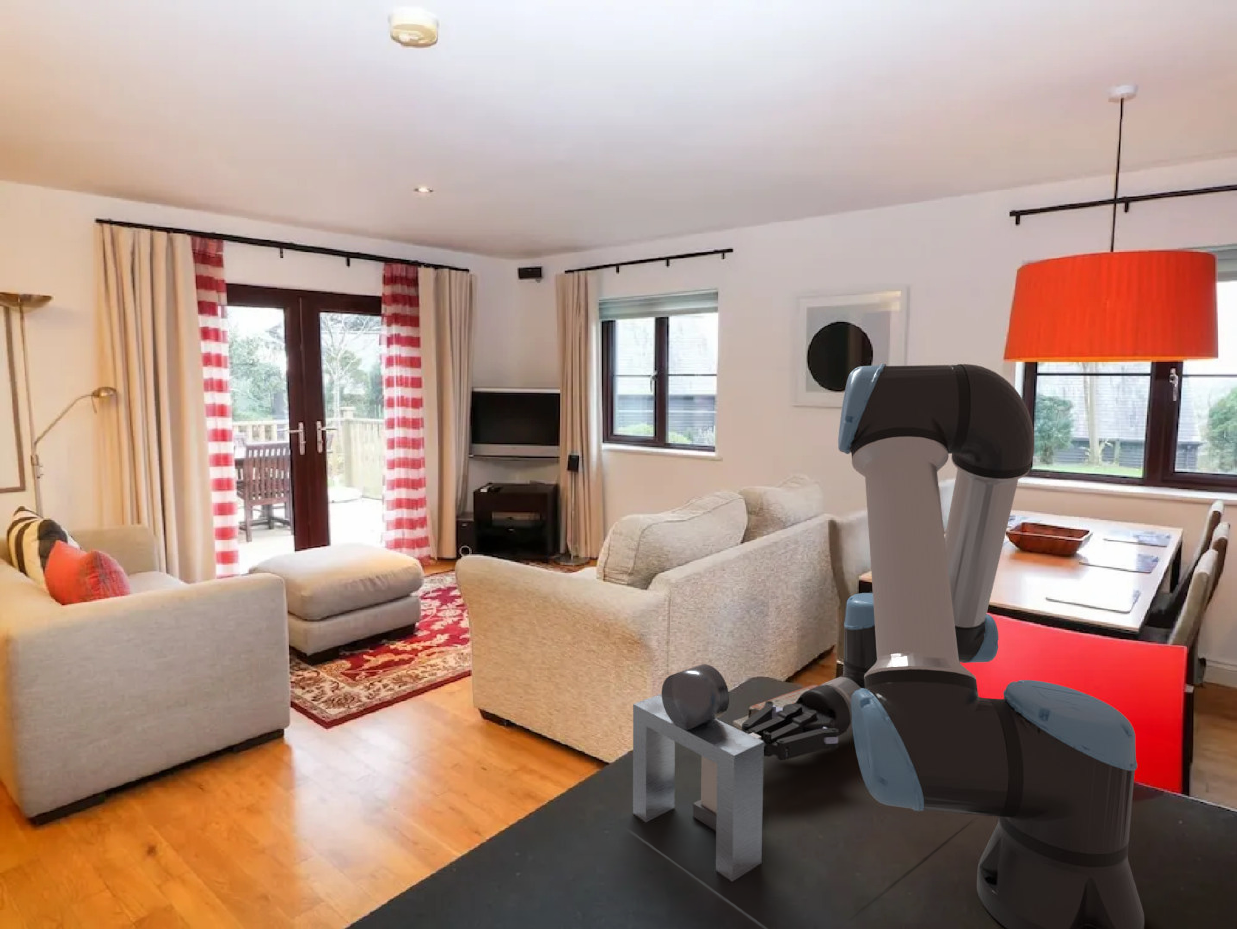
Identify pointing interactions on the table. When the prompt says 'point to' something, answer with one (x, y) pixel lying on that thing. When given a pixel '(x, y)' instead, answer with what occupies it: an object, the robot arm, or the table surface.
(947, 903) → the table surface
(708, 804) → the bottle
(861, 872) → the table surface
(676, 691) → the grey metal arch
